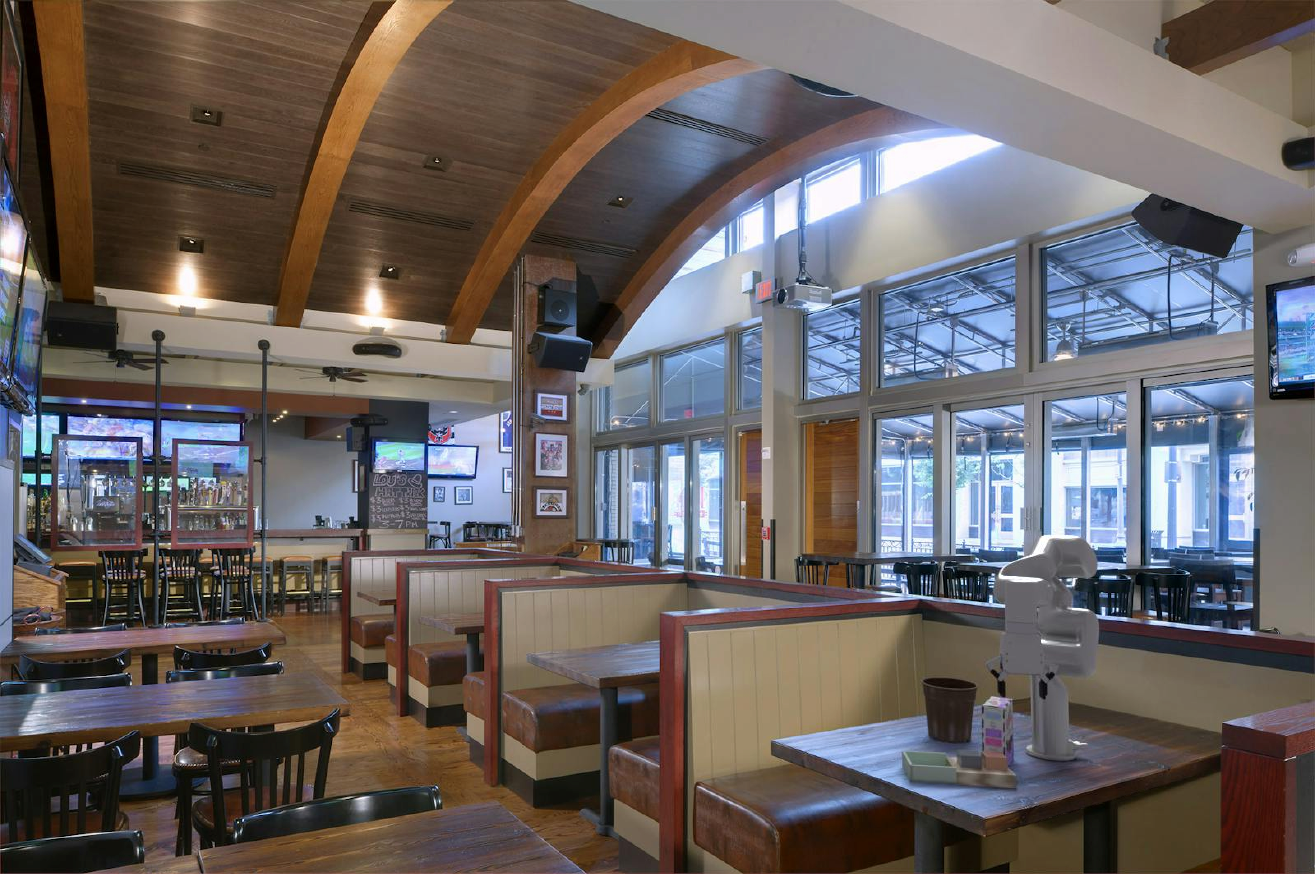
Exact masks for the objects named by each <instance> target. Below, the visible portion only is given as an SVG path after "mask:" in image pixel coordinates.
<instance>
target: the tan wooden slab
mask: <svg viewBox="0 0 1315 874" xmlns="http://www.w3.org/2000/svg"><path fill="white" fill-rule="evenodd" d="M946 767H956V777H957V785H956V786H973V787H974V786H975V787H988V788H989V787H990V788H993V787H994V788H1004V789H1005V788H1007V789H1008V788H1009V789H1017V775H1016V774H1015V773H1014V771H1013V770H1011V768H1010V766H1009V767H1008V766H1007V770H994V769H986V768H985V767H984V766H983V765H982V769H976V768H961V767H960V765H959V764H958V763H957V756H956V757H955V756H954V757H953V756H946Z"/></svg>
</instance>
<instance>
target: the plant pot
mask: <svg viewBox="0 0 1315 874" xmlns="http://www.w3.org/2000/svg"><path fill="white" fill-rule="evenodd" d="M920 683H921V684H922V691H923V696H924V701H925V711H926V722H927V723H926V724H927V734H928V736H929V738H931V739H933V740H936V739H937V740H938V741H939V742H945V743H949V744H950V743H951V744H958V743H959V744H962V743H966V742H970V741H971V740H972V730H973V720H974V719H973V717H974V709H975V701H976V699H977V690H978V688H979V685H978V683H976V682H974V681H971V680H966V679H962V678H955V677H942V676H941V677H939V676H936V677H935V676H934V677H933V676H932V677H924V678H922V679H921V680H920Z"/></svg>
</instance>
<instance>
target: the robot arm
mask: <svg viewBox="0 0 1315 874" xmlns="http://www.w3.org/2000/svg"><path fill="white" fill-rule="evenodd" d="M1097 571H1098V558H1097V555H1096V553H1095V551H1094V550H1093V548H1092V546H1091V545H1090V543H1088V541H1087V540H1086V539H1084V538H1083V537H1081V536H1079V535H1078V536H1077V535H1064V534H1063V535H1062V534H1059V535H1057V534H1046V535H1041V536H1039V537H1037V538H1036V539H1035V540H1034V542H1033V543H1032V545H1031V547H1030V549H1029V551H1028V553H1027V555H1026V556H1025V557H1021V558H1019V559H1017V560H1014V561H1011V562H1010V563H1007V564H1006V565H1004V566H1003V567H1001V569H1000V570H999V572H998V573H997V575H996V577H995V579H994V583H993V587H992V593H993V597H994V599H995V601H997V603H999V604H1001V605H1004V622H1005V623H1004V624H1005V626H1004V627H1005V628H1004V631H1005V632H1001V634H1000V635H1001V636H1000V641H999V642H1000V643H999V650H998V651H999V653H998V655H997V656H996V657H993V658H991V659H989V660H987V661H986V662H985V665H986V667H987V669H988V670H989V673H990V674H991V675H993V677H994V678H995V679H996V680H997V681H996V682H997V683H996V684H997V691H996V692H997V694H999V696H1001V698H1007V697H1006V695H1007V693H1006V681H1005V680H1004V679H1006V678H1007V676H1008V675H1019V676H1020V675H1024V676H1025V675H1026V676H1029V678H1030V679H1029V681H1030V706H1031V707H1030V719H1031V727H1030V728H1031V744H1029V745H1027V746H1026V747H1025V751H1026V753H1027V754H1029V756H1032V757H1035V758H1039V759H1044V760H1049V761H1056V762H1058V761H1059V762H1061V761H1062V762H1063V761H1072V760H1074V759H1076V757H1077V754H1076V752H1077V750H1078V751H1081V752H1082V751H1083V752H1084V751H1085V752H1088V751H1089V745H1088V743H1087V742H1086V743H1085V742H1084V743H1083V742H1081V743H1080V741H1073V740H1072V739H1070V722H1069V720H1070V719H1069V717H1070V716H1069V693H1068V688H1067V687H1066V685H1065V683H1064V682H1063V680H1061V678H1060V677H1059V676H1064V677H1072V678H1081V679H1089V678H1090V677H1092V676H1093V675H1094V674H1095V672H1096V668H1097V667H1096V666H1097V656H1098V649H1099V648H1098V647H1099V637H1100V625H1099V623H1100V622H1099V619H1098V616H1097V615H1096V613H1095V612H1094V611H1093V610H1090V609H1088V608H1080V607H1073V601H1074V600H1073V599H1074V597H1073V594H1072V591H1071V590H1070V589H1069V587H1067V585H1066V584H1065V583H1064V582H1063V581H1062V580H1060V579H1059V577H1061V578H1062V577H1063V578H1077V579H1090V578H1092V577H1094V576H1095V575H1096V573H1097ZM1042 637H1043V638H1042ZM997 664H998V667H999V668H998V669H999V671H997V670H996V669H995V665H997Z"/></svg>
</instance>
